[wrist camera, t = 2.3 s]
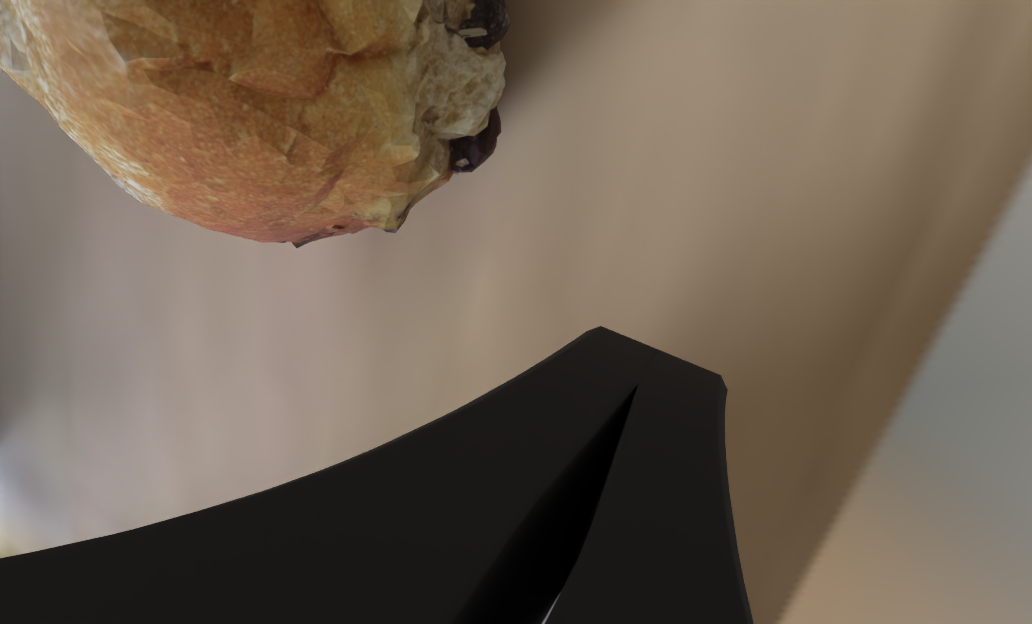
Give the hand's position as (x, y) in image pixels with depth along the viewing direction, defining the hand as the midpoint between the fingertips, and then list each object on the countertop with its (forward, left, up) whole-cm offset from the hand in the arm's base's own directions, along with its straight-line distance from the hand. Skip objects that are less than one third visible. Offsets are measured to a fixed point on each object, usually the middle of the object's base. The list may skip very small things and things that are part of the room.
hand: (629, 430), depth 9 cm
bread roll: (+4, +9, -10) cm, 14 cm away
